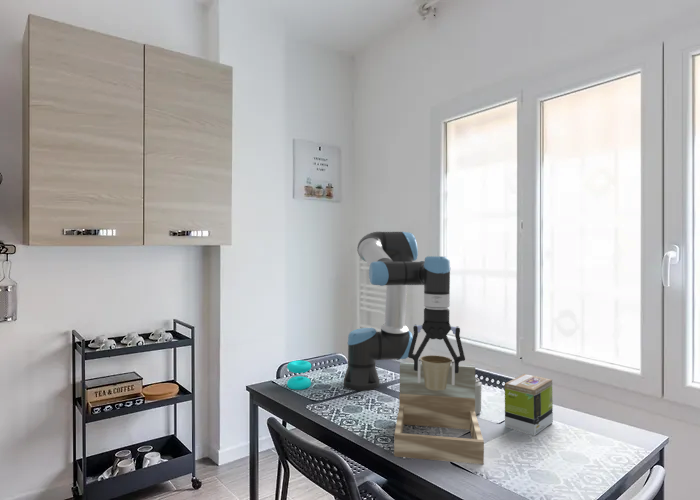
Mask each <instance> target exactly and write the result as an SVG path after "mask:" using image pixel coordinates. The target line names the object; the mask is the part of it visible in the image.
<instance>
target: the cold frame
mask: <svg viewBox="0 0 700 500" xmlns="http://www.w3.org/2000/svg"><path fill="white" fill-rule="evenodd" d="M475 377H476V366H474V365H473V366H470V365H469V366H468V365H459V372H458V373H455V385H452V364H450V367H449V372H448V378H447V385H446V389H445V390H438V391H434V390H429V389H427V387H425V381H424V372H423V365H422V363H421V371H420V383H418V371H415V370H414V362H413V363H412V362H399V394H398V395H399V399H398V400H399V401H398V402H399V405H398V411H397V418H396V423H395V427H394V428H395V430H394V435H393V436H394V437H393V439H394V440H393V441H394V446H393V448H394V449H393V454H394V455H393V457H399V458H408V459H418V460H419V459H420V460H429V461H443V462H450V463H451V462H452V463H462V464H463V463H464V464H473V465H474V464H475V465H484V464H485V442H484V438H483V434H482V430H481V428H480V427H481V426H480V424H479V420H478V418H477V415H476V413H475ZM404 425H407V426H418V427H420V426H421V427H431V428H445V429H455V430H456V429H458V430H469V432H470V436H471V438H465V437H454V436H452V437H451V436H442V435H441V436H440V435H428V434H427V435H426V434H416V433H404Z"/></svg>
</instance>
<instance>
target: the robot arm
mask: <svg viewBox="0 0 700 500" xmlns="http://www.w3.org/2000/svg"><path fill="white" fill-rule="evenodd" d="M356 251H357V253H358V256H359V258H360V259H361V260H362V261H363V262H366V264H368V268H369V269H368V278H369V282H370V284H371V285H373V286H381V287H383V286H386V291H385V311H384V315H385V316H384V317H385V318H384V324H383V325H381V326H380V331H377V330H376V328H374V327H362V328H357V329H354V330H351V332H349V333H348V336H347V337H348V338H347V367H346V368H347V369H346V371H345V373H344V374H345V375H344V377H343V387H344V388H346V389H348V390H352V391H358V392H359V391H360V392H361V391H362V392H364V391H365V392H366V391H372V390H373V391H374V390H376V389H378V388H379V387H380V382H381V381H380V377H379V374H378V371H377V367H376V363H377V361H388V360H392V361H395V360H396V361H400V360H406V359H408V358H409V359H412V360H413V363H414V370H415V371H418V383H420V371H421V364H422V362H421V360H420V358H421V355H422V353H423V351H424V350H425V348H426V346H427V344H428V342H429V341H430V340H440V341H441V340H443V342H444V343H445V345H446V347H447V349H448V351H449V353H450V355H451V357H452V362H451V365H452V385H455V373H458V372H459V366H460V365H459V363H460V362H465V360H466V356H465V353H464V349H463V344H462V341H461V337H460V336H461V335H460V334H461V328H460V327H459V326H452V325H451V324H450V309H449V308H450V305H451V304H450V298H451V296H450V295H451V293H450V288H451V287H450V285H451V262H450V258H449V257H448V256H439V255H438V256H437V255H435V256H434V255H433V256H432V255H431V256H429V255H428V256H426V257H425V258H424V260H421V261H417V260H418V255H419V251H418V243H417V239H416V237H415V235H414V234H413V232H412V233H411V232H409V231H408V232H406V231H373V232H370V233H367V234H366V235H364V236H363V237H361V239H359V242H358V244H357V249H356ZM408 286H423V287H424V288H423V292H424V293H423V306H424V308H423V323H422V325H421V324H419V325H417V324H414V325H413V333H412V332H411V331H410V330H409V327H408V326H407V325H406V318H407V299H408V295H407V294H408ZM422 330H423V331H424V333H425V336H424V338H423V340H422V342H421V344H420V345H419V346H418V349H417V351H416V352H415V353H414V351H415V346H416V343H417V339H418V336H419V335H418V334H419V333H420V332H421V331H422ZM450 331H451V332H452V334H453V335H454V337H455V339H456V341H455V342H456V344H457V348H458V352H459V355H457V353H456V351H455V349H454V347H453V344H452V343H451V341H450V340H449V338H448V334H449V333H450Z"/></svg>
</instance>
